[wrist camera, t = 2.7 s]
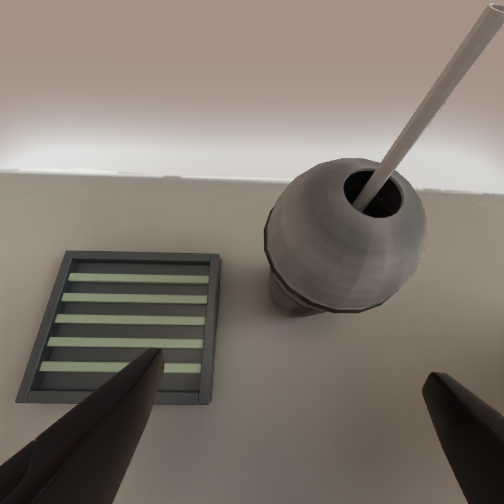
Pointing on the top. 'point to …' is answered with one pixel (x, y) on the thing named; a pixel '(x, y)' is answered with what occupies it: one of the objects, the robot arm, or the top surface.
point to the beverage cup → (360, 213)
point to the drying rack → (126, 325)
